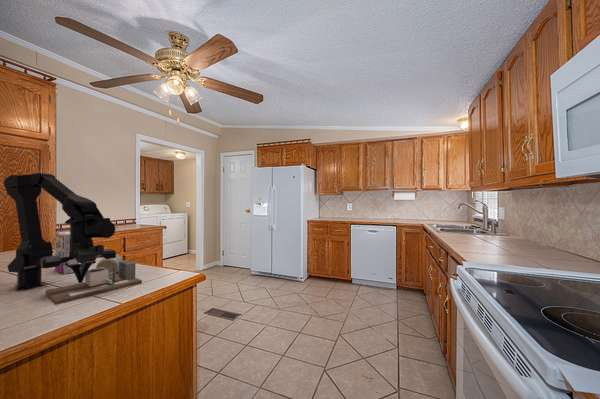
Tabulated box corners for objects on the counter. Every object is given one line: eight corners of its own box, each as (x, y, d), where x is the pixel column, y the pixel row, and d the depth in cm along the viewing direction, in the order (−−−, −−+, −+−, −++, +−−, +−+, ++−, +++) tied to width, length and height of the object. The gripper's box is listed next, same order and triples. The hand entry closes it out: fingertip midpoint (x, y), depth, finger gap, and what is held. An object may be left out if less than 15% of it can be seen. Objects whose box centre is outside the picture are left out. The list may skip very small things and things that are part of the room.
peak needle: (112, 282, 85) (112, 269, 85) (114, 281, 85) (114, 268, 85) (113, 282, 84) (113, 269, 84) (115, 282, 85) (115, 269, 85)
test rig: (45, 293, 79) (45, 272, 79) (126, 275, 98) (126, 258, 98) (55, 304, 71) (55, 280, 71) (141, 283, 90) (142, 264, 90)
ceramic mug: (94, 277, 96) (95, 258, 96) (101, 271, 103) (101, 253, 103) (126, 274, 100) (127, 256, 100) (130, 269, 108) (131, 252, 108)
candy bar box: (53, 270, 104) (54, 232, 104) (69, 267, 108) (69, 231, 108) (61, 275, 98) (62, 234, 98) (78, 272, 102) (78, 233, 102)
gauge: (84, 282, 86) (85, 269, 86) (112, 277, 92) (112, 264, 92) (94, 289, 80) (94, 275, 80) (122, 282, 87) (122, 269, 87)
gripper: (47, 243, 70) (46, 297, 70) (122, 236, 86) (121, 280, 85) (39, 239, 77) (38, 288, 76) (111, 233, 92) (110, 274, 92)
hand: (80, 282), depth 82 cm, fingers closed
